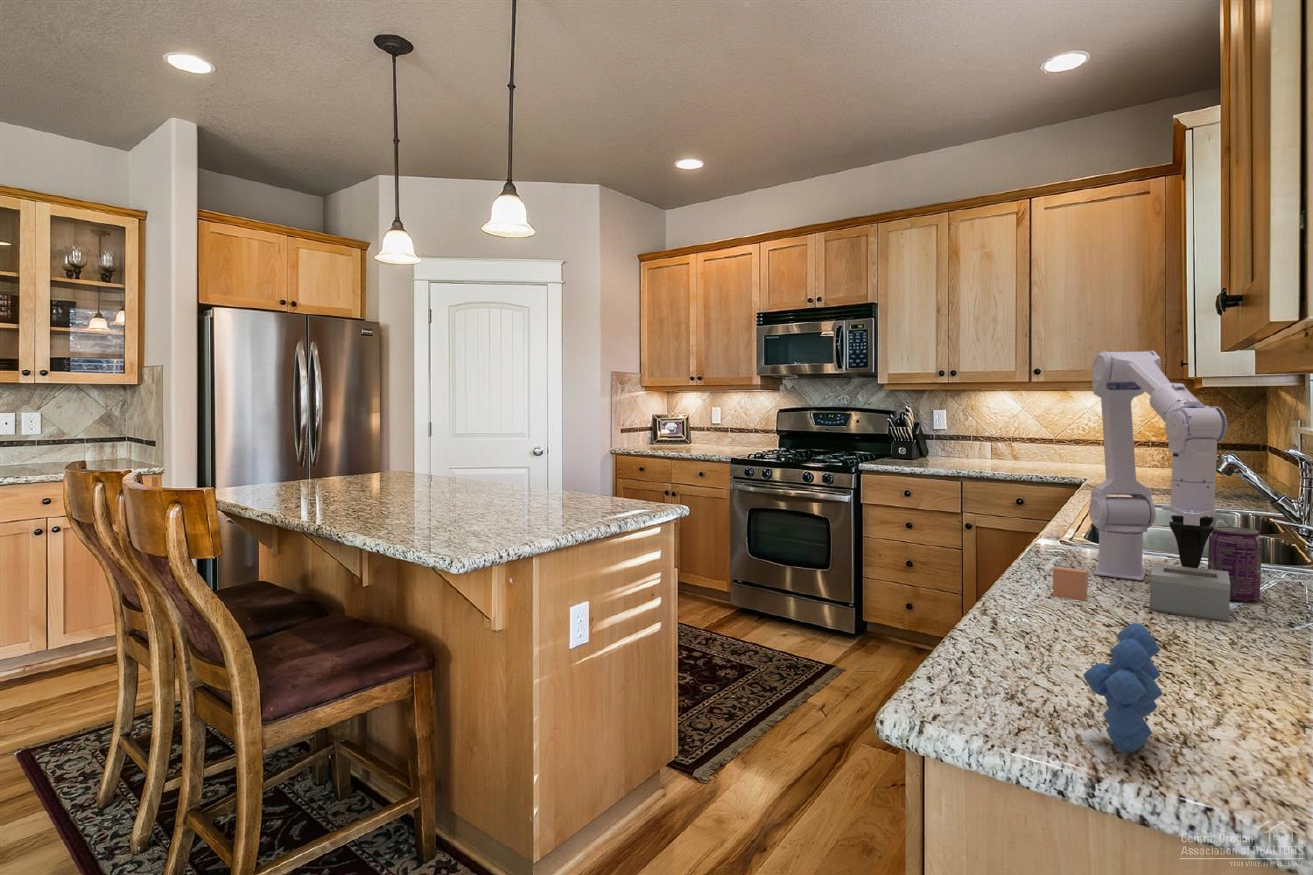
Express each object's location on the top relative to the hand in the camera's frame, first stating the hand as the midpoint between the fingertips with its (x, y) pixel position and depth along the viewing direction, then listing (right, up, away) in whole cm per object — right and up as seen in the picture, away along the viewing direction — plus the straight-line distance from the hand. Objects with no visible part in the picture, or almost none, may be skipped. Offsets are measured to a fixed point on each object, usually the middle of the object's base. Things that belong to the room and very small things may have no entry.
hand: (1190, 562), depth 113 cm
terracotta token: (-15, -8, +7) cm, 19 cm away
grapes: (-41, -10, -44) cm, 61 cm away
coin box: (0, -8, 0) cm, 8 cm away
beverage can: (+13, -8, +7) cm, 16 cm away
